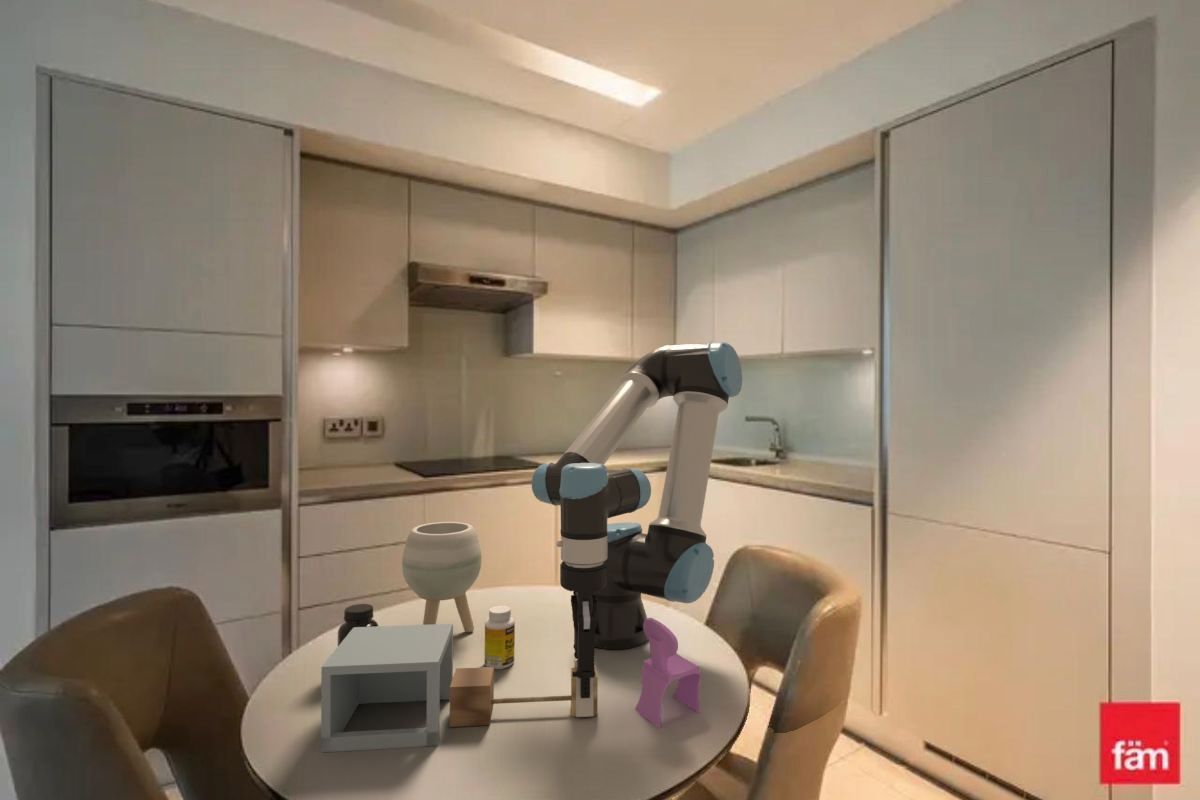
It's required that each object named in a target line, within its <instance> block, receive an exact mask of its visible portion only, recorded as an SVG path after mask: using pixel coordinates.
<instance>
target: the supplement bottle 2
mask: <svg viewBox="0 0 1200 800" xmlns="http://www.w3.org/2000/svg"><path fill="white" fill-rule="evenodd" d="M488 611H489V613H488V618H487V619H486V620H485V622H484V665H485V666H486V667H494V670H501V669H507V668H509V667H511V666H512V665H513V664H514V662H515V644H516V643H515V642H516V641H515V633H516V631H515V627H516V625H515V624H516V621H515V618H513V617H512V616H511V615H512V612H511V611H512V610H511V607H509V606H507V605H496V606H495V605H494V606H493V607H491V608H489V610H488Z"/></svg>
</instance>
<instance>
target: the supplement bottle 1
mask: <svg viewBox="0 0 1200 800" xmlns="http://www.w3.org/2000/svg"><path fill="white" fill-rule="evenodd" d="M343 614H344V616H343V621H344V622H343V623H342V624H341V625H340V626H339V627H338V630H337V647H338V646H339V645H340V644H341V642H342V641H343V640H344V639H345V637H346V636H347V635H348V634H349V632H350V631H351V630H352V629H353V628H354V627H376V626H379V623H378V622H377V621H376V620H375V619H373V618H374V606H373V605H372V604H368V603H359V604H352V605H349V606H347V607H346V608H344V613H343ZM337 647H336V648H337Z"/></svg>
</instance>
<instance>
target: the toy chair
mask: <svg viewBox="0 0 1200 800" xmlns="http://www.w3.org/2000/svg"><path fill="white" fill-rule="evenodd" d="M643 630H644V633H645V635H646V636H647V637H648V640H649V641H648V642H649V652H650V658H648V659H644V660H643V661H642V664H643V665H642V667H641V670H640V674H641V675H640V676H641V692H640V696H639V699H638V701H637V703H636V706H635V709H634V710H635V711H636V712H638V713H639V714H640V715H641V716H643V718H645V719H647V720H648V721H649V722H651V723H652V724H653V725H654V726H656V727H657V728H658V729H660V728H662V717H661V716H662V715H661V714H662V713H661V710H662V709H661V708H662V707H661V706H662V700H663V698H664V695H665V693H666V690H667V689H668V686H669V685H670V684H671V683H673V682H676V681H677V680H678V683H677V686H676V689H675V690H674V692H673V694H672V696H673V697H674V698H676V699H678V700H679V701H680V702H682V703H683V704H684V705H686V706H687V707H689V708H690V709H692V710H694V711H695V712H697V713H701V706H700V684H701V680H702V673H701V672H700V666H699V665H698V664H696V663H694V662H692V661H690V660H688V659H686V658H684V657H683V656H681V655H680V654H679V653H677V652H678V650H679V642H678V638H677V637H676V635H675V634H674V632H673V631H672V630H670V628H669V627H667V626H666V625H665V624H663V623H662V622H660V621H659V620H657V619H656V618H653V617H647V619H646V620H645V621H644V623H643Z"/></svg>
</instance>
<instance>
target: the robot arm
mask: <svg viewBox="0 0 1200 800" xmlns="http://www.w3.org/2000/svg"><path fill="white" fill-rule="evenodd" d="M619 380H620V381H619V387H618V388H617V390H616V391H615V392H614V393H613V394H612V395H611V396H610V397H609V399H608V400H607V401H606V403H605V404H604V405H603V406H602V407H601V409H600V410H598V412H597V413H596V415H595V416H593V418H592V419H591V421H590V422H589V423H588V424H587V425H586V427H584V429H583V430H582V432H581V433H580V434H578V436H577V437H576V439H575V440H574V441H573V442H572V444H570V446H569V447H568V449H567V450H566V451H565V452H564V453H563V454H562V456H561V457H560V458H559V459H558V460H557V462H556V463H553V462H549V463H543V464H541V465H539V466H537V468H536V469H535V470H534V473H533V475H532V477H531V490H532V493H533V496H534V497H535V498H536V499H537V500H538V501H539V502H540V503H541V502H542V503H544V504H549V505H552V506H554V507H555V506H559V507H560V530H559V531H560V540H557V541H556V547H558V548H560V560H562V562H561V563H560V566H559V568H560V569H559V573H560V574H559V577H560V578H559V584H560V587H562V588H563V589H565V591H569V592H572V593H573V594H572V595H570V605H571V610H572V614H571V615H572V621H573V631H574V632H573V633H574V635H573V636H574V637H573V639H574V640H573V643H574V644H573V649H574V654H573V656H574V659H575V660H574V661H573V662H574V666H573V668H574V667H575V668H576V667H577V671H575V672H572V677H576V716H575V718H582V717H583V718H585V717H586V718H587V717H588V718H589V717H594V715H593V695H594V677H595V671H594V667H595V650H596V649H595V648H598V649H605V650H625V649H630V648H635V647H639V646H641V645H643V644H645V643H646V642H647V641H648V640H649V639H648V637H647V636H646V635H645V633H644V630H643V623H644V621H645V620H646V619H647V618H648V616H647V613H646V609H645V606H644V603H643V600H642V595H647V596H650V597H655V598H658V599H663V600H666V601H668V602H671V603H674V602H677V603H682V604H692V603H695V602H696V601H698V600H699V599H701V597H702V595H703V594H704V593H705V592H706V591H707V589H708V587H709V585H710V582H711V580H712V576H713V572H714V567H715V559H714V557H715V555H714V551H713V548H712V547H711V546H710V545H708V543H706V541H707V534H706V533H705V531H704V529H703V528H702V525H701V524H702V519H703V513H704V507H705V500H706V495H707V494H706V493H707V487H708V481H709V476H710V470H711V463H712V457H713V450H714V447H715V446H714V444H715V438H716V434H717V427H718V421H719V415H720V413H722V412H724V411H725V410H727V409H728V405H729V398H734V397H736V396H738V395H739V393H740V392H741V389H742V385H743V372H742V365H741V361H740V358H739V355H738V353H737V351H736V349H735V348H734V347H733V345H731V344H730V343H728V342H722V341H721V342H719V341H718V342H715V341H714V342H713V341H708V342H702V343H701V342H699V343H685V344H684V343H683V344H665V345H663V346H659V347H658V348H656V349H653V350H652V351H650V352H648V353H646V354H645V355H643V356H642V357H641V358H640V359H638V360H637V361H636V362H635V363H633V365H631V366H630V367H629V368H628V369H627V371H626V372H624V374H623V375H622V376H621V378H620V379H619ZM667 397H672V399H673V401H674V403H675V404H676V405H677V407H678V409H677V412H676V417H675V418H676V420H675V424H674V430H673V435H672V440H671V446H670V451H669V456H668V457H669V458H668V463H667V468H666V474H665V478H664V483H663V488H662V496H661V500H660V506H659V511H658V517H656V518H655V519H654V520H653V521H651V522H650V523H649V524H648V529H647V533H643V528H642V525H641V524H640V523H637V522H616V523H613V522H612V523H608V519H611V518H613V517H617V516H622V515H625V514H631V513H634V512H636V511H638V510H640V509H642V508H644V507H645V506H646V505H647V504H648V503H649V501H650V499H651V494H652V486H651V482H650V480H649V478H648V476H647V475H646V474H645V473H644V472H643V471H642V470H640V469H638V468H627V467H623V468H621V469H609V468H607V466H606V465H605V464H606V463H607V461H608V460H609V459H610V458H611V456H612V455H613V454H614V452H615V451H616V450H617V448H618V447H619V446H620V444H621V443H622V441H623V440H624V439H625V438H626V436H627V435H628V434H629V432H630V431H631V430H632V428H633V427H634V426H635V424H636V423H637V422H638V421H639V419H640V418H641V416H642V415H643V414H644V412H645V411H646V410H647V409H648V408H652V407H654V406H655V405H656V404H657V403H658V401H659V400H661V399H662V398H667Z"/></svg>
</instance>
